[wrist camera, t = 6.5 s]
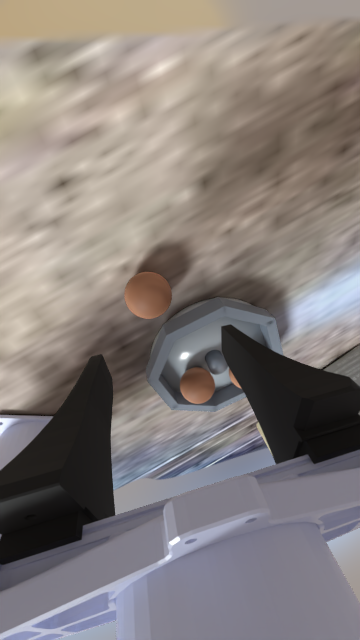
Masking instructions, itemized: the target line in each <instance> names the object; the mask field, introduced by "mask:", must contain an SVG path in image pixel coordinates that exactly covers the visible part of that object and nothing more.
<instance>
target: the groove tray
mask: <svg viewBox="0 0 360 640" xmlns="http://www.w3.org/2000/svg"><path fill="white" fill-rule="evenodd" d="M229 324H231V325H233V326H234V327H236V328H237V329H238V330H240V331H241V332H243V333H244V334H246V335H247V336H249V337H250V338H252V339H254V340H255V341H257V342H258V343H260V344H262V345H263V346H265V347H267V348H269V349H271V350H273V351H275V352H277V353H279V354H281V355H283V351H282V347H281V342H280V338H279V333H278V329H277V324H276V320H275V318H274V317H273V316H272V315H271V314H270V313H269V312H268V311H267V310H266V309H263V308H259V307H255V306H253V305H251V304H249V303H247V302H245V301H242V300H239V299H234V298H221V297H216V298H213V299H208V300H204V301H201V302H197V303H195V304H193V305H190V306H188V307H186V308H185V309H183V310H181V311H180V312H178V313H177V314H175V315H174V316H173V317H172V318H171V319H170V320H168V321H167V322H166V323H165V324H163V326H162V328H161V329H160V331H159V332H158V334H157V335H156V337H155V339H154V342H153V344H152V348H151V352H150V359H149V362H148V364H147V367H146V374H147V381H148V383H149V384H150V385H151V386H152V387H153V389H154V390H155V391H156V392H157V393H158V394H159V396H160V397H161V398H162V399H163V400H164V401H165V403H166V404H167V405H168V406H169V407H170V408H171V410H188V411H210V412H215V411H217V410H220V409H222V408H224V407H226V406H228V405H230V404H232V403H234V402H236V401H238V400H240V399H243V398H245V397H246V395H245V393H244V392H243V390H242V389H241V388H239V387H237V386H236V385H234V383H233V382H232V381H231V379H230V377H229V367H228V365H227V363H226V361H225V358H224V356H223V354H222V348H221V326H225V325H229ZM194 367H200V368H204V369H206V370H207V371H208V372H210V373H211V375H212V376H213V378H214V381H215V390H214V393H213V395H212V397H211V398H210V399H209V400H208V401H206V402H204V403H201V404H195V403H191V402H189V401H188V400H186V399H185V398H184V396H183V395H182V393H181V390H180V380H181V377H182V375H183V374H184V373H185V372H186V371H187V370H189V369H191V368H194Z"/></svg>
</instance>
